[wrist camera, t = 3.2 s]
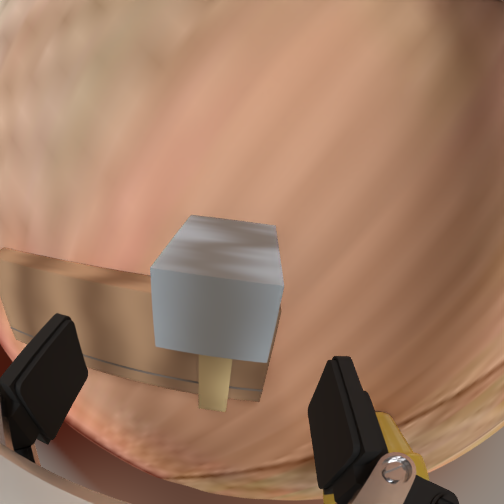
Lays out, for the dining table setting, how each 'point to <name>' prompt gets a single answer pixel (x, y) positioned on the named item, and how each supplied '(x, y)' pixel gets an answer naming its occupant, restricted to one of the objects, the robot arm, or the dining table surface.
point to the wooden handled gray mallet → (218, 298)
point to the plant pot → (393, 448)
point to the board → (108, 322)
